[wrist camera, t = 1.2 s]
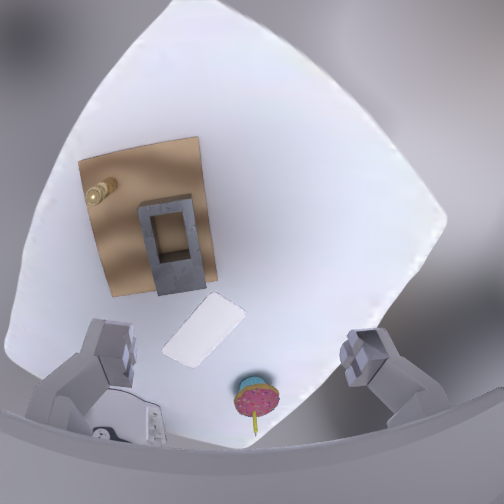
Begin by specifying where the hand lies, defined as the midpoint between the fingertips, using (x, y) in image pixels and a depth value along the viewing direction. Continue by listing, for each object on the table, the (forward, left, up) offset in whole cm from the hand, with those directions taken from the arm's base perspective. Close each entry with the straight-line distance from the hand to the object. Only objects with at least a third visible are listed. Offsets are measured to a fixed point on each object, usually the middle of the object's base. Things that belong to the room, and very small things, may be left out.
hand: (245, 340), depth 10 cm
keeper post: (+3, +12, -29) cm, 32 cm away
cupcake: (-38, -3, -31) cm, 49 cm away
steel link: (-6, +5, -29) cm, 30 cm away
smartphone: (-23, +4, -32) cm, 39 cm away
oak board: (-3, +8, -31) cm, 32 cm away
